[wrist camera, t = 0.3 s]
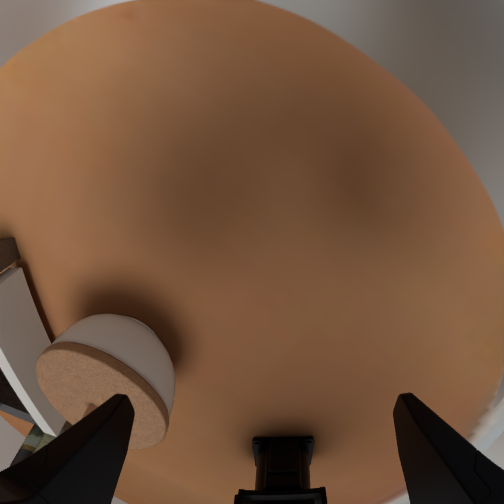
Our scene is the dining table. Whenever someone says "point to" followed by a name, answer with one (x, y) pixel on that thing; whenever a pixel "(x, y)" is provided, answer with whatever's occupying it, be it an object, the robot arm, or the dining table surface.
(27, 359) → the grey flat bar
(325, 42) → the dining table surface
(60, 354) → the lidded jar
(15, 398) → the box
